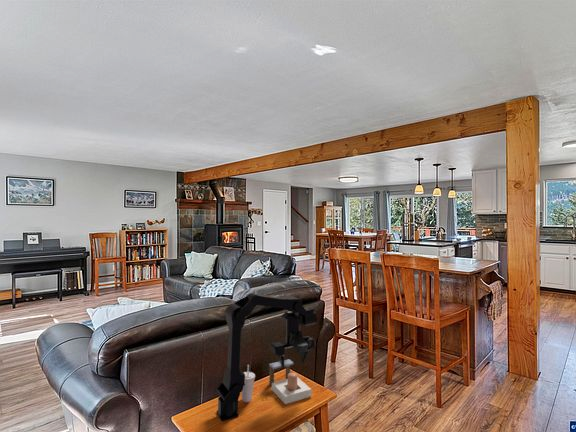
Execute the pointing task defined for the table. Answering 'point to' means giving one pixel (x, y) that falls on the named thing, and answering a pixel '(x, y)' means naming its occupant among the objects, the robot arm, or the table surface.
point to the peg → (292, 382)
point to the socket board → (286, 396)
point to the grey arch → (278, 365)
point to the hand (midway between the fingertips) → (292, 365)
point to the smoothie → (248, 386)
